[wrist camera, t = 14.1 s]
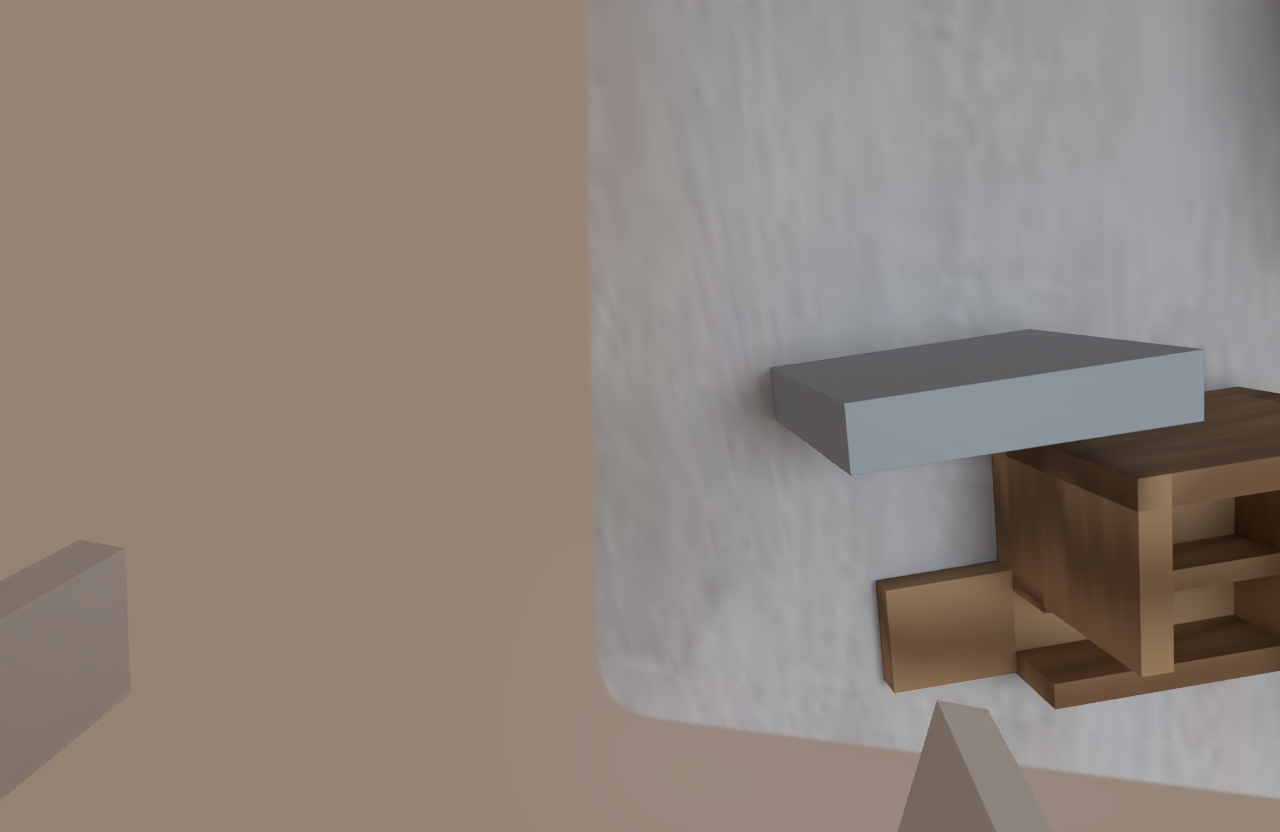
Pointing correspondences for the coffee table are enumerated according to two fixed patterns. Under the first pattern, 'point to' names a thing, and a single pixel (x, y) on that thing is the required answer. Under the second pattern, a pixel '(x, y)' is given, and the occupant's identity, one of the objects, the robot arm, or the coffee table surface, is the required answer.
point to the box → (1112, 566)
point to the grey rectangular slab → (985, 396)
